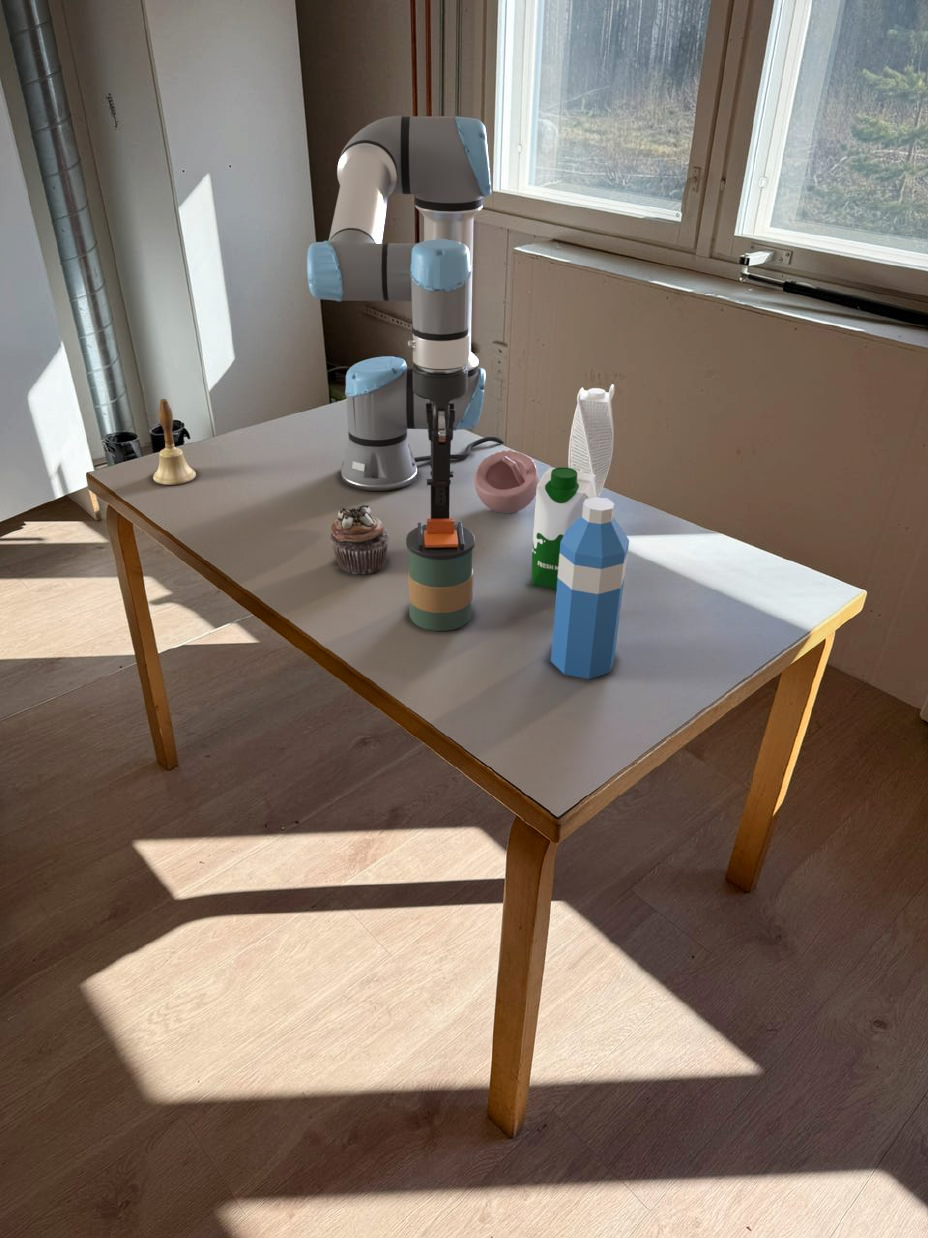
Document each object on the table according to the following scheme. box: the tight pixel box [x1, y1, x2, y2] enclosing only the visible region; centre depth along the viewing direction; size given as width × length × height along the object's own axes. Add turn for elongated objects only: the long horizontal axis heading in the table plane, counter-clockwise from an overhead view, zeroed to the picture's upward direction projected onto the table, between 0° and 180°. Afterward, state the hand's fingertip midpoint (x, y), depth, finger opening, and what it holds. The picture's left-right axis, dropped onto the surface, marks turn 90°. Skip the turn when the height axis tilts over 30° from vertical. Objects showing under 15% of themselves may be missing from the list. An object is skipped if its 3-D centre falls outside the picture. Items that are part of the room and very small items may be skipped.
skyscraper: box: [567, 383, 615, 497], centre depth 160 cm, size 8×8×28 cm
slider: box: [424, 518, 458, 548], centre depth 134 cm, size 4×5×2 cm
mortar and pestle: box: [474, 449, 540, 514], centre depth 172 cm, size 12×12×11 cm
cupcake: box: [330, 504, 390, 575], centre depth 154 cm, size 10×10×10 cm
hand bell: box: [152, 398, 197, 486], centre depth 181 cm, size 8×8×16 cm
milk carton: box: [531, 466, 595, 590], centre depth 148 cm, size 9×9×20 cm
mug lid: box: [405, 521, 476, 560], centre depth 136 cm, size 10×10×2 cm
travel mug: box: [407, 548, 474, 632], centre depth 140 cm, size 10×10×12 cm
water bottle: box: [550, 496, 630, 680], centre depth 127 cm, size 9×9×25 cm
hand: (440, 521), depth 137 cm, fingers closed
